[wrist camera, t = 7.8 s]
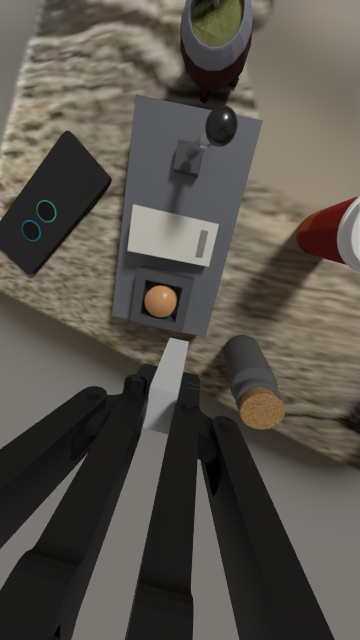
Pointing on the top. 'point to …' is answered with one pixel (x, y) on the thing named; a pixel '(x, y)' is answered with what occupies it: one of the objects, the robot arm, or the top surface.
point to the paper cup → (334, 233)
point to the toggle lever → (215, 131)
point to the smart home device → (52, 203)
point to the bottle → (252, 383)
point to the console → (180, 208)
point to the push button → (161, 300)
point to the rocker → (171, 236)
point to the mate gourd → (215, 41)
